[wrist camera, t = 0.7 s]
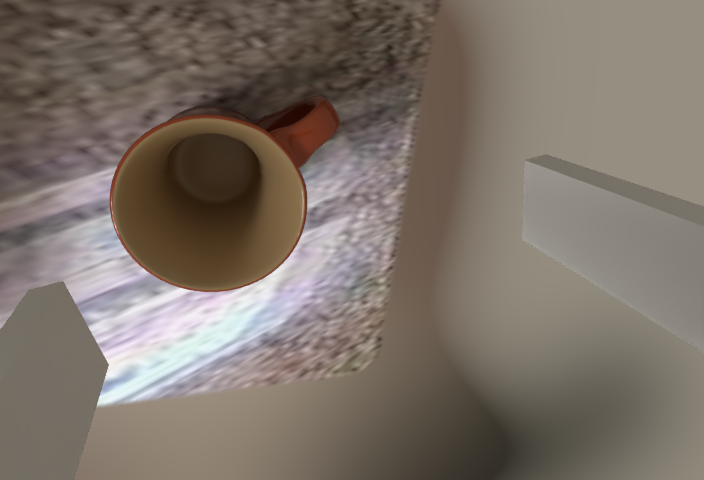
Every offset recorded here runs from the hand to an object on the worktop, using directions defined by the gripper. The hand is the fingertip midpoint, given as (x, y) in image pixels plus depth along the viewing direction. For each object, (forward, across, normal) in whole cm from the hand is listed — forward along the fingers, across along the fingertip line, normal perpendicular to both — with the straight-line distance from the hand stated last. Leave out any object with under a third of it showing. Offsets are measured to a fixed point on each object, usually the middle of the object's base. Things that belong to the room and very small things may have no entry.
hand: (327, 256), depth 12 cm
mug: (+20, -2, 0) cm, 20 cm away
